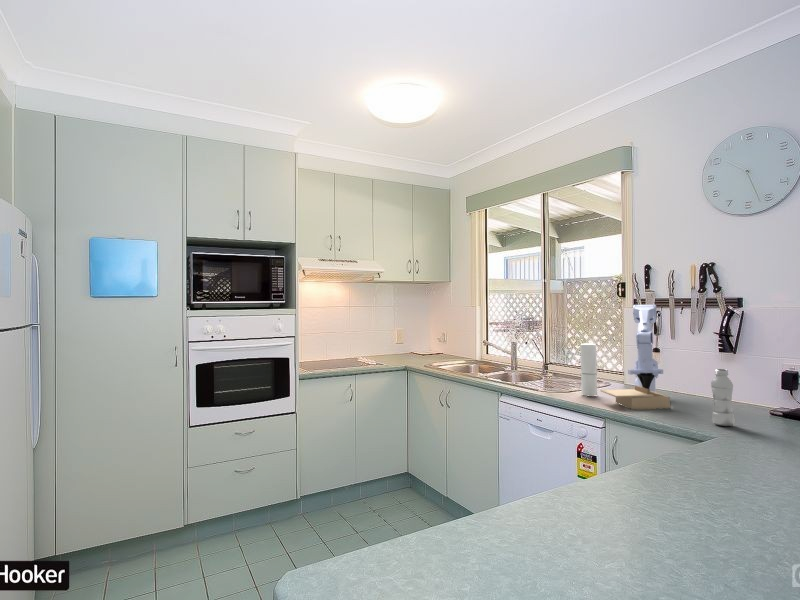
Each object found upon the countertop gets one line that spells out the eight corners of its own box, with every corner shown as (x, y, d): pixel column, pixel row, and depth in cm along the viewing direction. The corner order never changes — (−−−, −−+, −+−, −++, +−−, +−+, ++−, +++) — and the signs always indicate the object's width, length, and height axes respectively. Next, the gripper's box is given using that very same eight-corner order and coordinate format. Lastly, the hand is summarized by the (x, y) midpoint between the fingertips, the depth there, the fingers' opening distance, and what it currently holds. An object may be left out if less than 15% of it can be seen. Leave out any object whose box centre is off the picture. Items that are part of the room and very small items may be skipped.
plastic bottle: (738, 428, 159) (737, 371, 160) (717, 427, 161) (715, 370, 161) (729, 423, 166) (727, 368, 166) (708, 423, 167) (707, 368, 167)
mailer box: (615, 402, 205) (615, 391, 205) (650, 401, 205) (650, 390, 205) (632, 409, 191) (631, 397, 191) (669, 408, 191) (669, 396, 191)
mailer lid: (600, 391, 205) (600, 385, 205) (635, 390, 205) (635, 384, 205) (615, 397, 191) (615, 390, 191) (653, 396, 191) (653, 390, 191)
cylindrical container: (594, 394, 226) (593, 343, 226) (599, 396, 219) (598, 344, 219) (579, 394, 226) (578, 343, 227) (584, 396, 219) (582, 344, 220)
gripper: (633, 360, 194) (634, 392, 194) (667, 360, 194) (668, 392, 194) (625, 359, 201) (626, 389, 201) (657, 358, 201) (658, 389, 201)
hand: (646, 390), depth 198 cm, fingers closed
